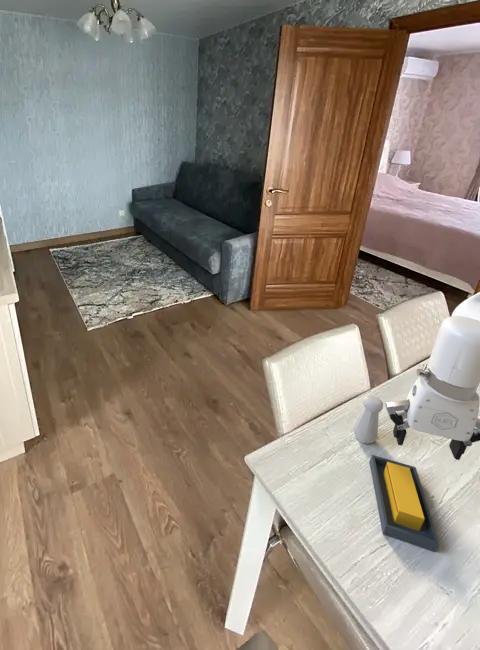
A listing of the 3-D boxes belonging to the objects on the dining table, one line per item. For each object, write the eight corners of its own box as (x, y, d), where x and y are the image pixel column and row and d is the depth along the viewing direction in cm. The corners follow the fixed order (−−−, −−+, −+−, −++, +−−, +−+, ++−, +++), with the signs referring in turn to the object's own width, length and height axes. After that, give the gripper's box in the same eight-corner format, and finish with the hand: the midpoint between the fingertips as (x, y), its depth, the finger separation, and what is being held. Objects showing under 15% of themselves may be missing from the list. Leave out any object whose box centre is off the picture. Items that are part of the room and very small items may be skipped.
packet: (419, 531, 70) (424, 519, 68) (393, 523, 71) (398, 510, 69) (405, 479, 79) (409, 467, 78) (383, 473, 81) (387, 461, 79)
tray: (412, 474, 81) (415, 466, 80) (435, 552, 67) (439, 544, 66) (369, 461, 84) (371, 454, 83) (382, 534, 69) (385, 526, 69)
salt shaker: (378, 436, 90) (390, 399, 85) (372, 451, 86) (384, 413, 81) (354, 423, 94) (364, 387, 89) (347, 437, 90) (358, 400, 85)
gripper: (401, 384, 62) (381, 450, 69) (520, 408, 57) (486, 477, 64) (391, 357, 69) (374, 420, 75) (497, 377, 64) (469, 442, 70)
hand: (425, 446), depth 70 cm, fingers open, 9 cm apart
